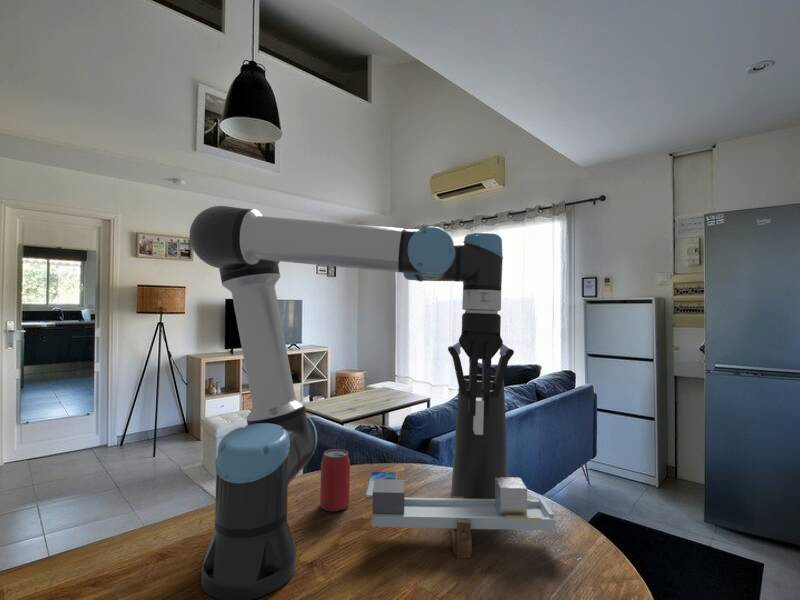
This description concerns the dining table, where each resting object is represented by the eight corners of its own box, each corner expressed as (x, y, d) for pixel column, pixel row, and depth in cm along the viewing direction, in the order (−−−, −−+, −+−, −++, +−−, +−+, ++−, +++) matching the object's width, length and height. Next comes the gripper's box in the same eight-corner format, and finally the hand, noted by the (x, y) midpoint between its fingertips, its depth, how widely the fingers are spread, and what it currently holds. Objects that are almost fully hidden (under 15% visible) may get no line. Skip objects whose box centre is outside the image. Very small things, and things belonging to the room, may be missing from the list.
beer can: (343, 514, 90) (344, 459, 90) (315, 511, 91) (316, 456, 91) (352, 501, 96) (354, 449, 97) (326, 497, 98) (327, 447, 98)
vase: (499, 518, 90) (501, 385, 90) (442, 502, 96) (444, 378, 97) (515, 494, 101) (516, 376, 102) (463, 481, 108) (465, 371, 109)
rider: (500, 519, 78) (500, 487, 78) (494, 507, 83) (495, 477, 83) (527, 520, 77) (527, 488, 78) (519, 507, 82) (519, 477, 83)
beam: (371, 526, 77) (372, 494, 77) (375, 506, 85) (375, 477, 85) (555, 530, 76) (555, 497, 76) (541, 509, 84) (541, 480, 84)
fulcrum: (455, 559, 74) (455, 524, 74) (449, 525, 86) (449, 494, 86) (473, 560, 74) (473, 524, 74) (464, 526, 86) (464, 495, 86)
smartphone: (364, 496, 98) (370, 471, 113) (364, 499, 98) (370, 474, 113) (394, 496, 98) (396, 471, 113) (394, 500, 98) (397, 474, 113)
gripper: (450, 311, 77) (446, 437, 77) (519, 313, 77) (516, 440, 77) (446, 311, 85) (443, 425, 84) (509, 313, 85) (506, 428, 84)
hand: (477, 432), depth 81 cm, fingers closed
